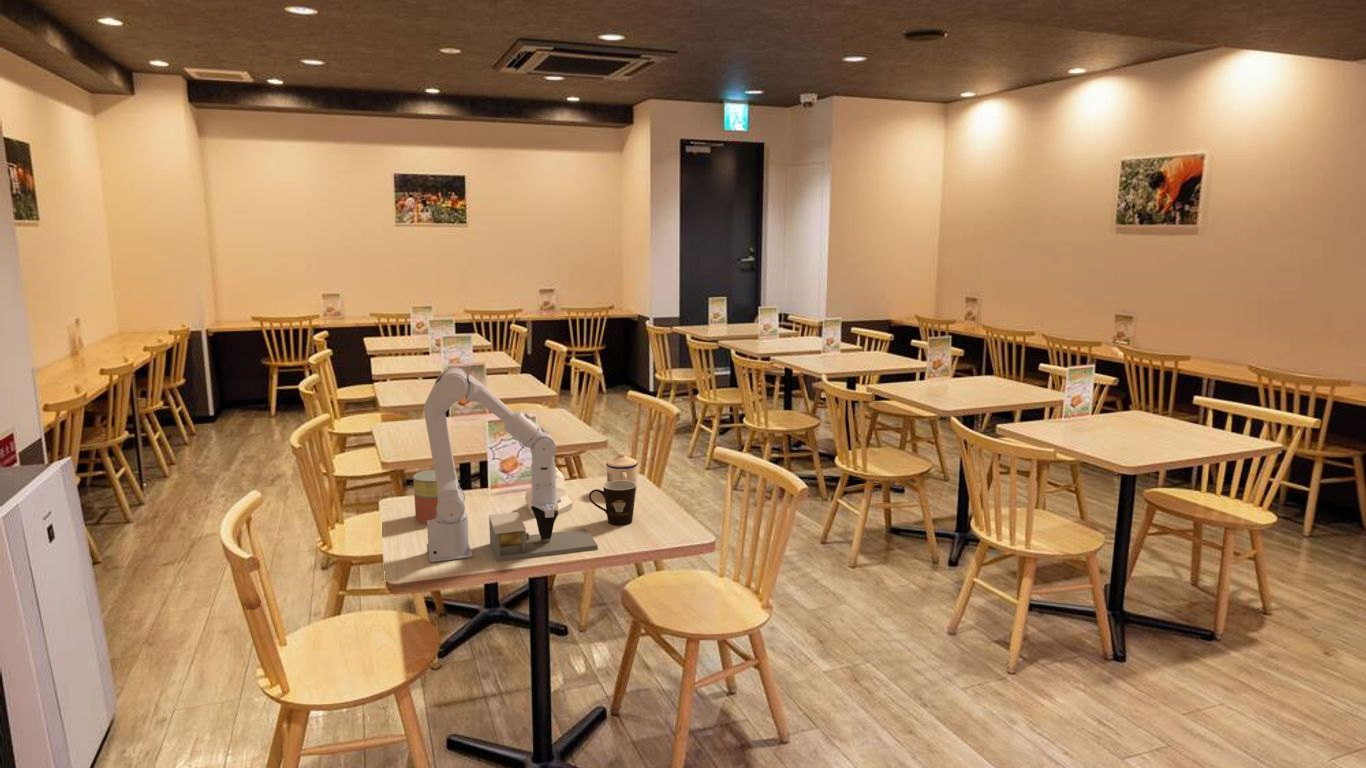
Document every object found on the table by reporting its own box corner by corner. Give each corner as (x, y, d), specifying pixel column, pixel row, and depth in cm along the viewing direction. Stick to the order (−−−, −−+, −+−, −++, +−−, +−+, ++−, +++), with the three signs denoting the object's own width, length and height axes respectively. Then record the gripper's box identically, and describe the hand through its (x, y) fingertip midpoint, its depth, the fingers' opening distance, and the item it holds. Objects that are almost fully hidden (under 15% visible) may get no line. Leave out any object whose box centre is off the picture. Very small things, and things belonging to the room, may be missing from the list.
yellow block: (500, 550, 202) (499, 530, 201) (498, 543, 207) (497, 523, 206) (551, 544, 206) (551, 524, 205) (548, 537, 210) (547, 517, 210)
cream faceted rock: (584, 508, 240) (590, 464, 235) (547, 528, 228) (553, 482, 223) (550, 490, 246) (556, 447, 240) (513, 509, 234) (518, 463, 228)
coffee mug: (642, 519, 227) (642, 482, 225) (626, 529, 219) (626, 491, 218) (604, 512, 232) (603, 477, 230) (587, 522, 224) (586, 485, 222)
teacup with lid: (604, 487, 254) (604, 449, 252) (635, 486, 255) (635, 448, 253) (609, 500, 242) (608, 460, 240) (641, 498, 244) (640, 459, 242)
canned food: (457, 524, 223) (455, 480, 221) (412, 526, 221) (409, 482, 219) (461, 510, 234) (459, 467, 232) (418, 512, 232) (416, 469, 230)
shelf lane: (496, 561, 198) (495, 531, 197) (490, 543, 210) (489, 515, 208) (597, 549, 206) (597, 520, 205) (586, 532, 217) (586, 504, 216)
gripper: (566, 489, 200) (567, 545, 202) (554, 472, 213) (556, 524, 216) (536, 492, 197) (537, 548, 200) (526, 475, 211) (527, 528, 213)
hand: (545, 536), depth 208 cm, fingers closed on yellow block, 2 cm apart
